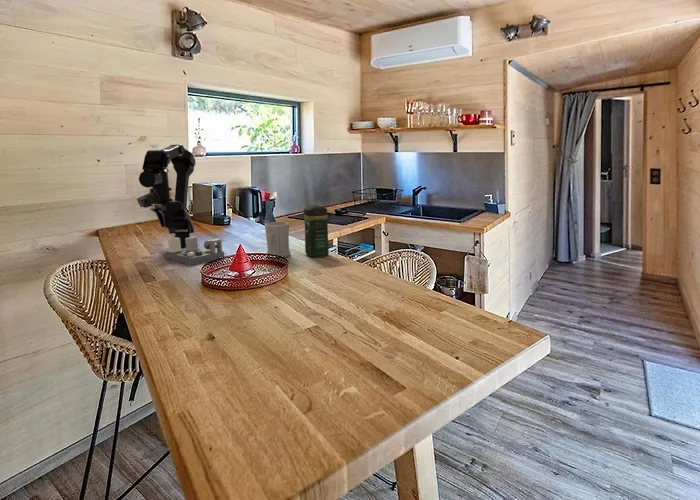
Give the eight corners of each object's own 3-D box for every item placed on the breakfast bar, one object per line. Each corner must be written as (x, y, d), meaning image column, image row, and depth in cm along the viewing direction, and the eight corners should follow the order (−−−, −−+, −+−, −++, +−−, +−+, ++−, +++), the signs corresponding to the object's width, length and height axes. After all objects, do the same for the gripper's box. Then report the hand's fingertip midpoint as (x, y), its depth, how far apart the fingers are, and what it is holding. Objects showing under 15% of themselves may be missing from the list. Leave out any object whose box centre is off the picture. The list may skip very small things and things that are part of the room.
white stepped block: (184, 250, 173) (183, 237, 172) (194, 248, 175) (193, 236, 174) (190, 252, 170) (189, 239, 169) (199, 250, 173) (198, 237, 172)
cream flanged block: (167, 251, 172) (166, 238, 171) (177, 249, 175) (176, 237, 174) (173, 252, 169) (171, 239, 168) (182, 251, 172) (181, 238, 171)
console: (165, 257, 174) (163, 239, 172) (198, 251, 183) (197, 233, 182) (190, 265, 162) (188, 245, 160) (224, 257, 172) (223, 239, 170)
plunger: (204, 249, 172) (203, 241, 172) (211, 248, 175) (210, 239, 174) (212, 251, 169) (211, 243, 168) (220, 250, 171) (219, 241, 170)
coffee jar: (331, 256, 170) (330, 205, 166) (311, 258, 167) (308, 207, 163) (322, 251, 179) (321, 202, 175) (303, 253, 176) (300, 204, 172)
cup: (293, 258, 169) (291, 225, 166) (268, 260, 166) (266, 227, 164) (288, 252, 179) (287, 221, 176) (264, 254, 176) (262, 222, 173)
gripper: (127, 185, 171) (132, 228, 175) (150, 188, 159) (155, 233, 162) (156, 183, 179) (161, 223, 182) (181, 185, 167) (185, 228, 170)
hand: (165, 227), depth 174 cm, fingers open, 3 cm apart
